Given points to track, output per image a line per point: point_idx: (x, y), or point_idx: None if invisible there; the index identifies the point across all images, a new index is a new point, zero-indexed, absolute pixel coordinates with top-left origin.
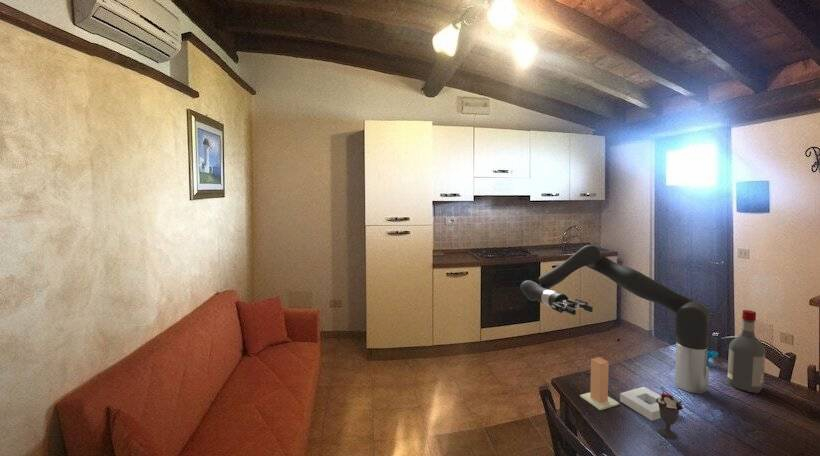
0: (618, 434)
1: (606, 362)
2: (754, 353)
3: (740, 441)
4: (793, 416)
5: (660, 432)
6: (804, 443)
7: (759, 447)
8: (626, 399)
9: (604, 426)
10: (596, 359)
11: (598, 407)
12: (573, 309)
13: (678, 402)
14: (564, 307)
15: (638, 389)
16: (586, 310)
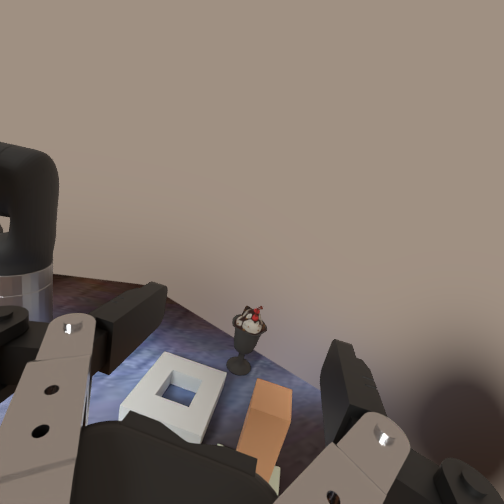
0: (310, 412)
1: (265, 381)
2: (2, 230)
3: (183, 317)
4: (73, 284)
5: (247, 371)
6: (140, 287)
7: (181, 308)
8: (207, 423)
9: (317, 438)
10: (277, 407)
11: (279, 473)
12: (351, 345)
13: (244, 312)
14: (402, 456)
15: (146, 410)
16: (131, 351)
